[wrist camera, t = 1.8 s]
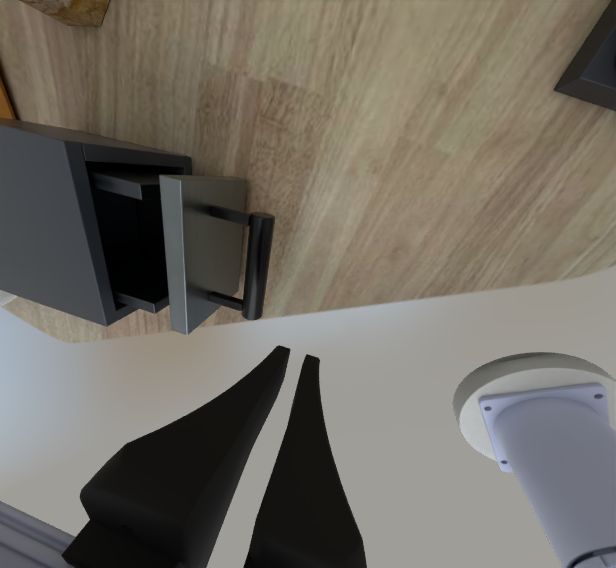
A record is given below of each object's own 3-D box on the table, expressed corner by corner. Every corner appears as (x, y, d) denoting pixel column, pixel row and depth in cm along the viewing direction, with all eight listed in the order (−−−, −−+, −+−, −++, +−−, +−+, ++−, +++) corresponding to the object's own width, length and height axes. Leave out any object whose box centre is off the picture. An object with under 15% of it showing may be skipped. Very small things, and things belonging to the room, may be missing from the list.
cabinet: (191, 157, 18) (62, 139, 10) (194, 277, 23) (106, 327, 15) (77, 130, 19) (-114, 97, 12) (102, 250, 24) (-22, 282, 16)
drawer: (297, 192, 16) (258, 199, 10) (279, 303, 21) (243, 354, 15) (134, 153, 18) (16, 139, 12) (147, 263, 22) (65, 294, 16)
